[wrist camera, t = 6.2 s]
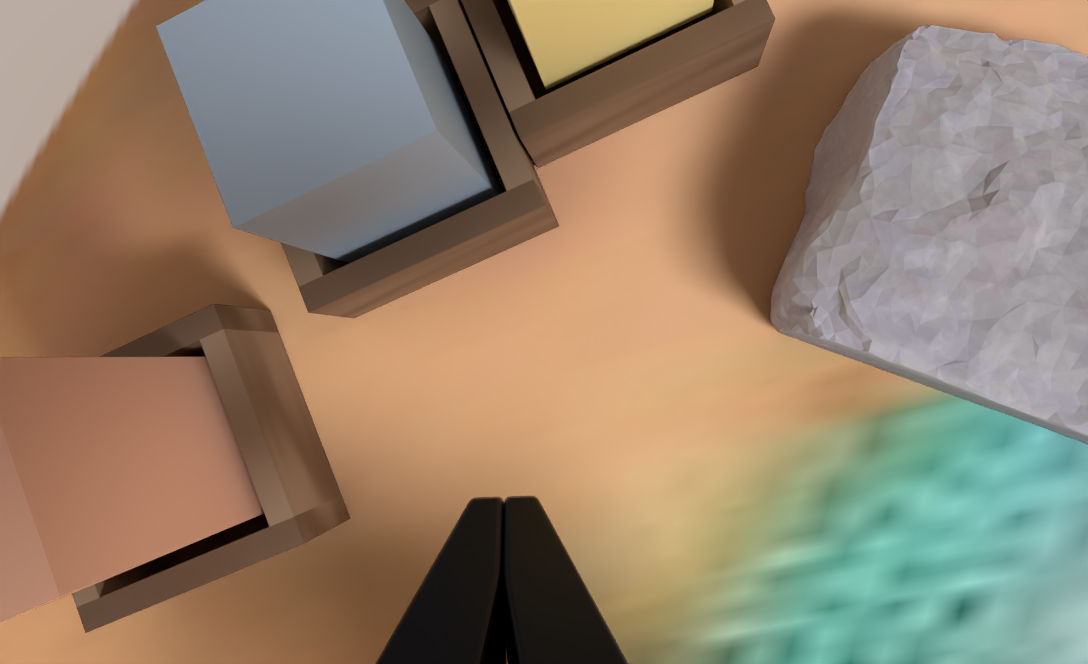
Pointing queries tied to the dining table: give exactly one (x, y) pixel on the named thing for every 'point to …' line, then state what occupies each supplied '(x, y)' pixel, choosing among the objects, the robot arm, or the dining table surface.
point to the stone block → (954, 225)
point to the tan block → (109, 470)
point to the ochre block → (594, 30)
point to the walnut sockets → (411, 266)
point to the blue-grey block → (327, 120)
